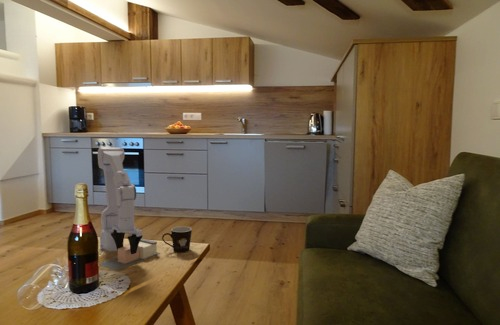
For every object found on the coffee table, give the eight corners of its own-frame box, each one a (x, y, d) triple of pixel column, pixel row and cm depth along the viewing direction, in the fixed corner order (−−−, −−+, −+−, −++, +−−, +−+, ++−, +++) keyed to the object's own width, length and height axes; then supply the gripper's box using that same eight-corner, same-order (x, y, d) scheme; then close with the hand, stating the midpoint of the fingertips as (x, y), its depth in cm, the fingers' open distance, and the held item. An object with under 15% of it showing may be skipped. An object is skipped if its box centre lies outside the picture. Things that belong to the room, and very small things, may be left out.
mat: (97, 267, 132) (96, 264, 132) (141, 250, 151) (141, 248, 151) (117, 273, 126) (116, 270, 126) (160, 255, 145) (160, 253, 145)
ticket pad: (128, 254, 142) (128, 242, 142) (141, 250, 149) (141, 237, 148) (144, 259, 138) (144, 246, 138) (157, 254, 144) (157, 241, 144)
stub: (117, 261, 135) (117, 248, 134) (132, 256, 141) (132, 244, 141) (125, 263, 133) (125, 250, 133) (139, 258, 139) (139, 245, 139)
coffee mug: (193, 249, 153) (194, 227, 153) (188, 256, 145) (188, 232, 144) (168, 248, 155) (168, 225, 154) (161, 254, 146) (161, 231, 145)
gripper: (104, 216, 135) (105, 251, 136) (131, 221, 128) (131, 258, 129) (119, 213, 141) (120, 246, 142) (146, 217, 134) (146, 252, 135)
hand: (126, 251), depth 136 cm, fingers open, 7 cm apart
